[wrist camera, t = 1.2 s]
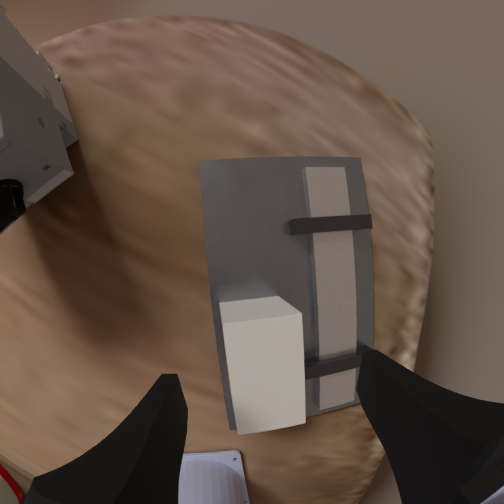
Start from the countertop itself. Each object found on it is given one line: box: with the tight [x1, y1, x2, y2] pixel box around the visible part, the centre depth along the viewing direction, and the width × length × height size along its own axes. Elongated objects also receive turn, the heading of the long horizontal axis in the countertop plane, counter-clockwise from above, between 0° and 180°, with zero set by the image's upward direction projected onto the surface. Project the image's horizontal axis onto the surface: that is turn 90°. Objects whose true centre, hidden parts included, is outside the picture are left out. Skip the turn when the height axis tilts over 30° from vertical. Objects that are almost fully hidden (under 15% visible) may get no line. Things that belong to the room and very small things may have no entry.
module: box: [219, 296, 306, 435], centre depth 17 cm, size 4×7×5 cm, turn 5°
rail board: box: [199, 157, 374, 430], centre depth 19 cm, size 20×12×2 cm, turn 5°
